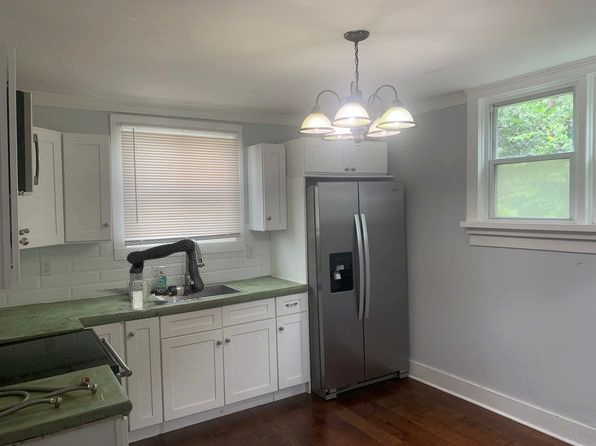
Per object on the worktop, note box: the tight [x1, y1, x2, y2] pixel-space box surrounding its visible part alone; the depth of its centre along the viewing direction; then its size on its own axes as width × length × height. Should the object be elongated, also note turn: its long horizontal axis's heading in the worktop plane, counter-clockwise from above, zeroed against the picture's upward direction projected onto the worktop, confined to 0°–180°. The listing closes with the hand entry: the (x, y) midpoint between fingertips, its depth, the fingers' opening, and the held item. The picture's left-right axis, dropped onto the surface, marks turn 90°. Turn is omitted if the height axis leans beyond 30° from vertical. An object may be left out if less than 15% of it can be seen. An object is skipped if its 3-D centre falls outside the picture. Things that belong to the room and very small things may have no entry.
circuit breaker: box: [133, 279, 152, 305], centre depth 315 cm, size 8×14×15 cm, turn 174°
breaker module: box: [129, 291, 144, 308], centre depth 294 cm, size 4×7×10 cm, turn 128°
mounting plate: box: [118, 303, 157, 312], centre depth 295 cm, size 20×12×1 cm, turn 68°
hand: (152, 293), depth 301 cm, fingers open, 8 cm apart
